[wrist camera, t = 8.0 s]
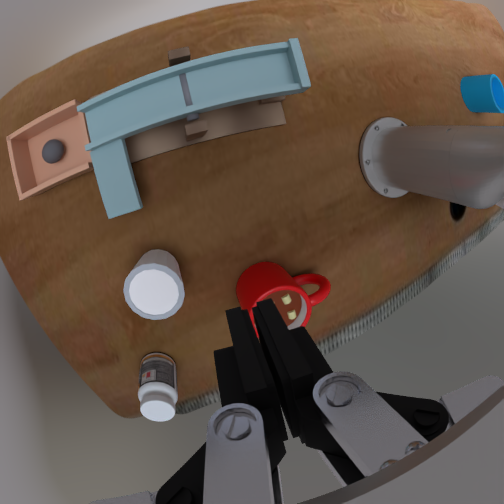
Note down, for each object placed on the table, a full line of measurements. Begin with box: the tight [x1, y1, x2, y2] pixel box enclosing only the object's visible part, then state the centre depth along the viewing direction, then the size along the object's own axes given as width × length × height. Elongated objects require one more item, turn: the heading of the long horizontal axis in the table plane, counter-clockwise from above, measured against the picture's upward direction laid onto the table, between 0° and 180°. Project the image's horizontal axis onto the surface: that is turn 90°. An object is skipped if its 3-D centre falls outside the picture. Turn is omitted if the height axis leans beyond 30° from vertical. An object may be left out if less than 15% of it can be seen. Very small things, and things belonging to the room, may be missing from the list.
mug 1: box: [236, 262, 331, 338], centre depth 37 cm, size 8×12×8 cm, turn 107°
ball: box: [42, 139, 64, 164], centre depth 26 cm, size 3×3×3 cm
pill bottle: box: [138, 353, 178, 421], centre depth 35 cm, size 6×6×10 cm
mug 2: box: [460, 74, 504, 113], centre depth 35 cm, size 12×8×8 cm
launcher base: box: [89, 47, 286, 163], centre depth 26 cm, size 23×10×8 cm, turn 103°
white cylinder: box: [123, 249, 185, 320], centre depth 32 cm, size 7×7×7 cm
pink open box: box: [6, 99, 94, 201], centre depth 25 cm, size 10×8×5 cm
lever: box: [77, 38, 311, 219], centre depth 24 cm, size 22×13×4 cm, turn 103°
